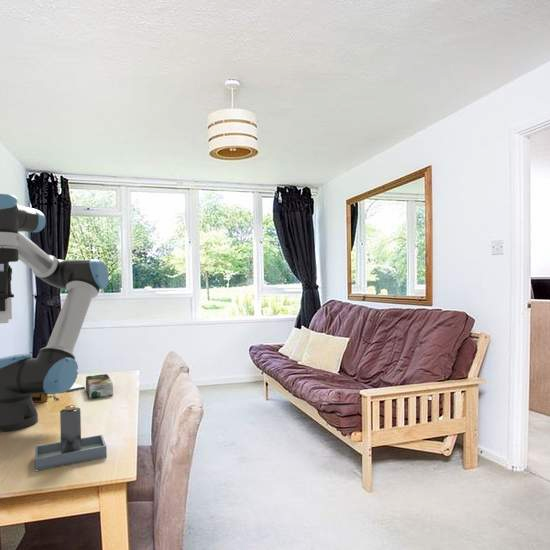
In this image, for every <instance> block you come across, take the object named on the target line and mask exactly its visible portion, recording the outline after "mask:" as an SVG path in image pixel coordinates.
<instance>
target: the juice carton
mask: <svg viewBox="0 0 550 550" xmlns="http://www.w3.org/2000/svg"><path fill="white" fill-rule="evenodd" d="M85 389H86V392H87V394H88V397H89V399H90V398H91V399H94V398H102V397H101V396H105V397H110V396H109V395H113V396H114V385H113V381H112V380H111V378H110V376H109V374H107V373H106V374H103V373H102V374H97V375H87V376H86V377H85Z"/></svg>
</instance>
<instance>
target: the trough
mask: <svg viewBox="0 0 550 550" xmlns="http://www.w3.org/2000/svg"><path fill="white" fill-rule="evenodd" d="M107 449H108V448H107V444H106V441H105V439H104V436H103V434H99V435H93V436H86V437H81V450H79V451H74V452H68V453H63V454H61V441H57V442H53V443H52V442H51V443H46V444H42V445H36V446H35V449H34V450H35V454H34V465H35V466H34V471H35V470H39V471H43V470H42V469H44V470H48V469H47V468H49V469H53V468H52V467H54V468H57V467H56V466H60V467H63V466H62V465H65V466H68V464H70V465H73V464H72V463H75V464H79V463H78V462H80V463H83V461H85V462H88V461H87V460H90V461H93V460H92V459H95V460H98V459H97V458H100V459H104V458H103V457H105V458H107V457H108V455H107Z"/></svg>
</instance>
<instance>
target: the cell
mask: <svg viewBox="0 0 550 550" xmlns="http://www.w3.org/2000/svg"><path fill="white" fill-rule="evenodd" d="M81 413H82V412H81V407H77V406H76V405H74V404H71V405H67V406H65V408H64V409H61V410H60V411H59V414H60V415H59V419H60V420H59V421H60V423H59V424H60V442H61V454H63V453H68V452H74V451H79V450H81V438H82V423H81V421H82V420H81V419H82V418H81V417H82V416H81Z"/></svg>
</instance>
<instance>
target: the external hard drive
mask: <svg viewBox="0 0 550 550" xmlns="http://www.w3.org/2000/svg"><path fill="white" fill-rule="evenodd" d="M79 389H81V390H85V389H86V386H83V385H81V384H79V383H76V382H75V383H74V384H73V386H72V387H71V388H70V389H69V390H68V391H70V392H74V390H76V391H80V390H79ZM68 391H66V392H65V393H69V392H68Z"/></svg>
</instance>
